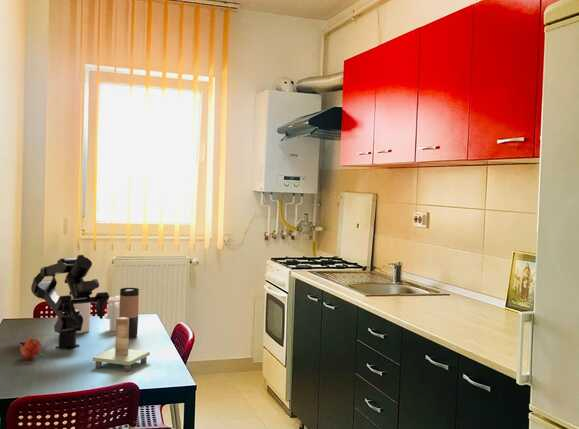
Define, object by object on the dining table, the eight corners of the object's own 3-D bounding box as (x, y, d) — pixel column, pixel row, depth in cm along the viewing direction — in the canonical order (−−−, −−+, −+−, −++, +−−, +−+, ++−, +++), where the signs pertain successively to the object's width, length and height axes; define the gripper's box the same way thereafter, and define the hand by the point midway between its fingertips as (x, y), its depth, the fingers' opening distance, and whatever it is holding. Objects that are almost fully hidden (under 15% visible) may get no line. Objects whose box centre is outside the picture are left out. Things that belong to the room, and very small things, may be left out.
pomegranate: (35, 361, 219) (11, 347, 214) (48, 344, 220) (25, 330, 216) (37, 368, 212) (13, 354, 208) (51, 351, 214) (27, 337, 209)
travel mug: (131, 333, 256) (133, 287, 256) (141, 337, 251) (142, 289, 250) (115, 336, 251) (116, 288, 250) (124, 339, 246) (125, 291, 245)
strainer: (121, 331, 259) (121, 297, 259) (103, 332, 258) (104, 297, 257) (122, 328, 266) (122, 294, 266) (105, 328, 265) (106, 294, 264)
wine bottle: (92, 329, 262) (94, 260, 261) (85, 334, 253) (87, 263, 252) (70, 328, 262) (72, 259, 261) (62, 333, 252) (64, 262, 252)
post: (115, 352, 212) (116, 317, 211) (128, 352, 213) (129, 317, 212) (114, 356, 208) (115, 320, 207) (127, 355, 209) (128, 320, 208)
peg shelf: (114, 357, 219) (114, 347, 219) (149, 361, 215) (149, 351, 215) (92, 368, 205) (92, 357, 205) (128, 372, 202) (129, 361, 202)
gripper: (59, 273, 215) (72, 309, 207) (107, 270, 228) (121, 304, 221) (49, 292, 221) (62, 328, 213) (97, 288, 234) (110, 321, 226)
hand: (90, 319), depth 218 cm, fingers open, 9 cm apart
